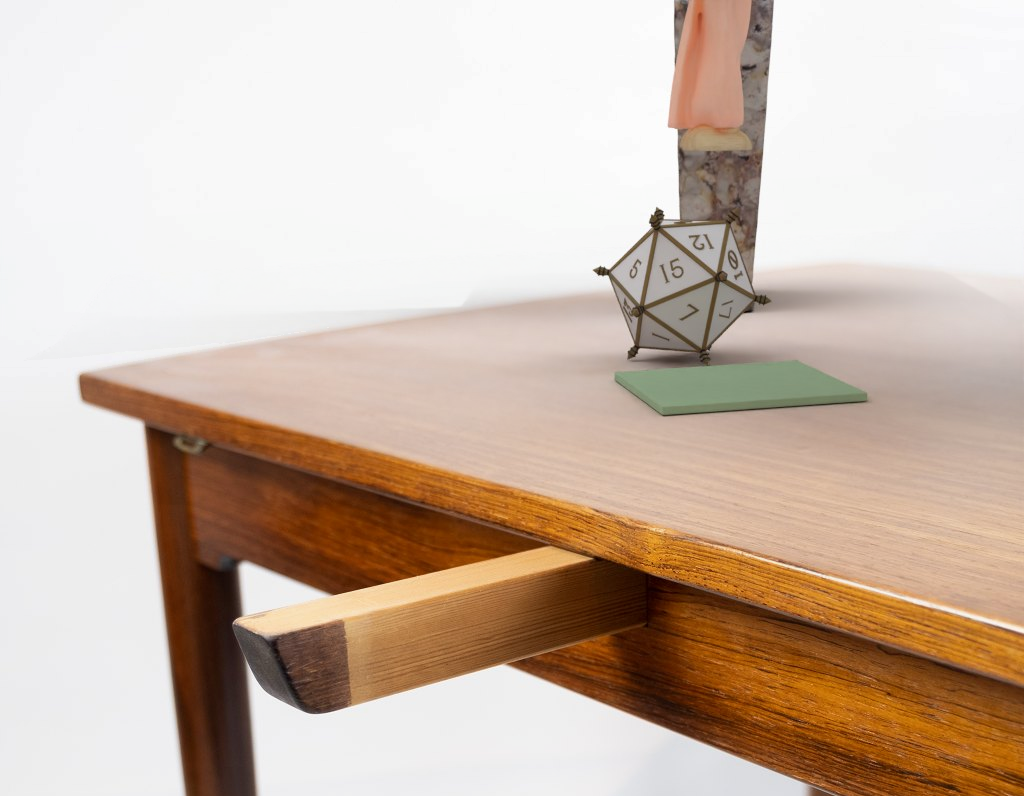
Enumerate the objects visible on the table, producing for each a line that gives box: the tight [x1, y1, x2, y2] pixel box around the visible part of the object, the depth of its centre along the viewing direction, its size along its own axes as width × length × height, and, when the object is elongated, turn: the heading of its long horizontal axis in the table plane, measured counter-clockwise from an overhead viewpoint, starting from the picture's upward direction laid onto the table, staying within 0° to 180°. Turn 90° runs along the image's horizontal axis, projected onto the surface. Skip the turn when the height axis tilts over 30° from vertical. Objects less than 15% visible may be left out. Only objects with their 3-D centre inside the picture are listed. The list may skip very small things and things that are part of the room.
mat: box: [613, 359, 869, 416], centre depth 75 cm, size 10×10×1 cm
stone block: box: [673, 0, 775, 312], centre depth 103 cm, size 13×7×20 cm, turn 176°
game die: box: [592, 206, 772, 366], centre depth 83 cm, size 9×8×10 cm
